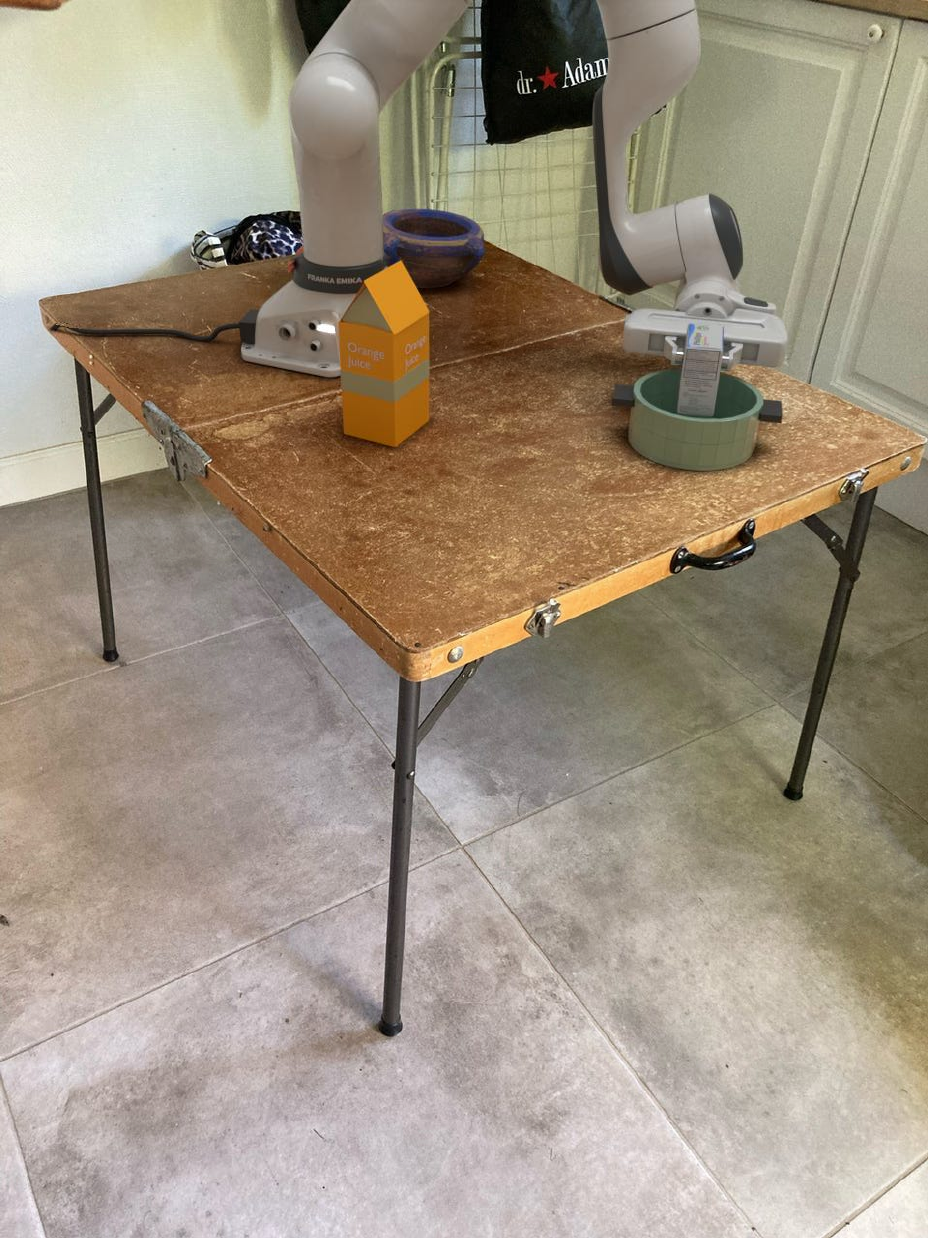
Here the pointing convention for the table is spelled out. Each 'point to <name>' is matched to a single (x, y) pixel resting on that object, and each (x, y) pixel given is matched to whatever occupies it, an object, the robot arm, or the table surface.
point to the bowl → (432, 244)
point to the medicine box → (701, 369)
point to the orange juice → (385, 359)
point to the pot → (694, 423)
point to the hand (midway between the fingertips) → (701, 362)
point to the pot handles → (768, 414)
